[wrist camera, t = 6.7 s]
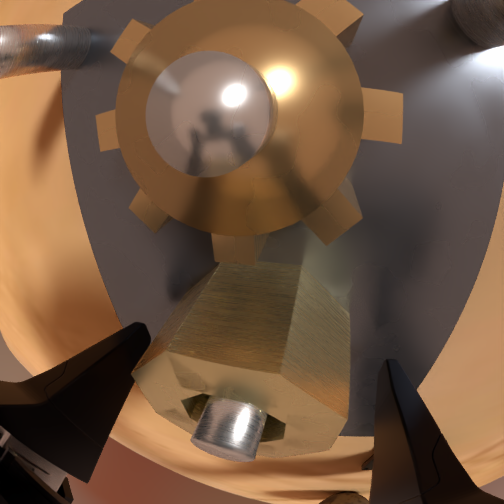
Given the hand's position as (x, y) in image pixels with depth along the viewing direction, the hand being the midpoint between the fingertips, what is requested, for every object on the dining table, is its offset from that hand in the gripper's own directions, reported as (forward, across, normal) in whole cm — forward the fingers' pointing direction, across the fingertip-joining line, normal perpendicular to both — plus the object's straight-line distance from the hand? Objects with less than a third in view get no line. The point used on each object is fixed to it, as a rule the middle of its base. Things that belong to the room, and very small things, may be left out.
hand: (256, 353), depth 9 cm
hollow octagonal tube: (+1, 0, 0) cm, 1 cm away
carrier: (+2, 0, -2) cm, 3 cm away
